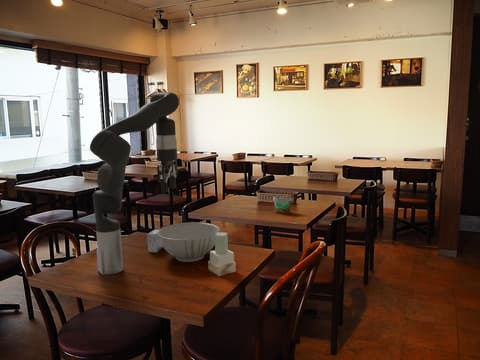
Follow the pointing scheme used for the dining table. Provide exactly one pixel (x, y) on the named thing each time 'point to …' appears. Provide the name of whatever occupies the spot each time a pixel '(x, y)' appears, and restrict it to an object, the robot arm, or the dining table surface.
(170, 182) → the robot arm
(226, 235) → the pale green block
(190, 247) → the decorative bowl
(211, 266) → the bottom block
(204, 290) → the dining table surface
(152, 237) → the medicine box
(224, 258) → the white block
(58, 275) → the dining table surface
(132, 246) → the dining table surface
